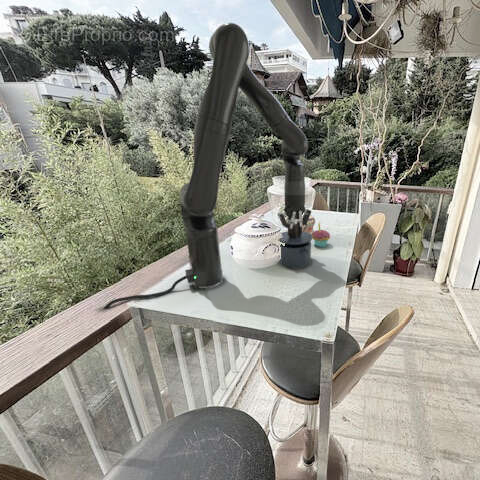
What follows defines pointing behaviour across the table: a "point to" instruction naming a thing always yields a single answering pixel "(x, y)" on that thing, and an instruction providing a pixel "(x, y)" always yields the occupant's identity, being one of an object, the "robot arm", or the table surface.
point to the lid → (296, 236)
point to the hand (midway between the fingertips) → (294, 236)
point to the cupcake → (320, 237)
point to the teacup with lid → (309, 225)
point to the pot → (295, 255)
